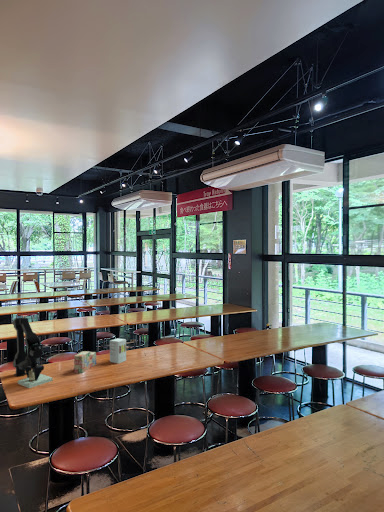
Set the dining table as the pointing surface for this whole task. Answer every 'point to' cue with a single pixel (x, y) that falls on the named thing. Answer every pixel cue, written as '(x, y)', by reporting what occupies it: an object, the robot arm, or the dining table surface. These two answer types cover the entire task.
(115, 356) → the supplement box
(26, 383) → the board
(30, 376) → the peg
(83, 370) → the beige multicoloured rectangular block
